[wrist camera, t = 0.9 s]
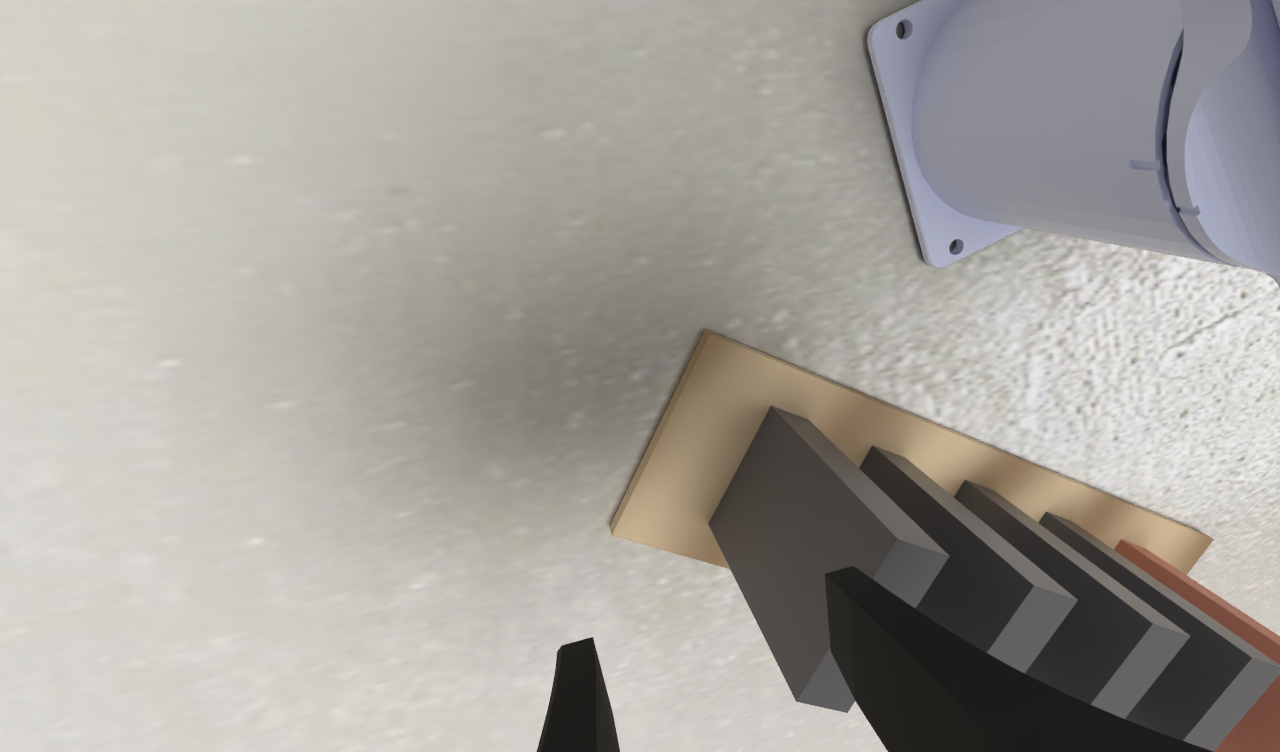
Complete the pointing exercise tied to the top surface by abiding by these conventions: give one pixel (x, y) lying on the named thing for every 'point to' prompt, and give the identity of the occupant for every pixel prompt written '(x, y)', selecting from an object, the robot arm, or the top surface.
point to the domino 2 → (974, 569)
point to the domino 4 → (1183, 654)
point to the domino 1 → (812, 546)
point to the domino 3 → (1085, 616)
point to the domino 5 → (1276, 724)
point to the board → (753, 381)
